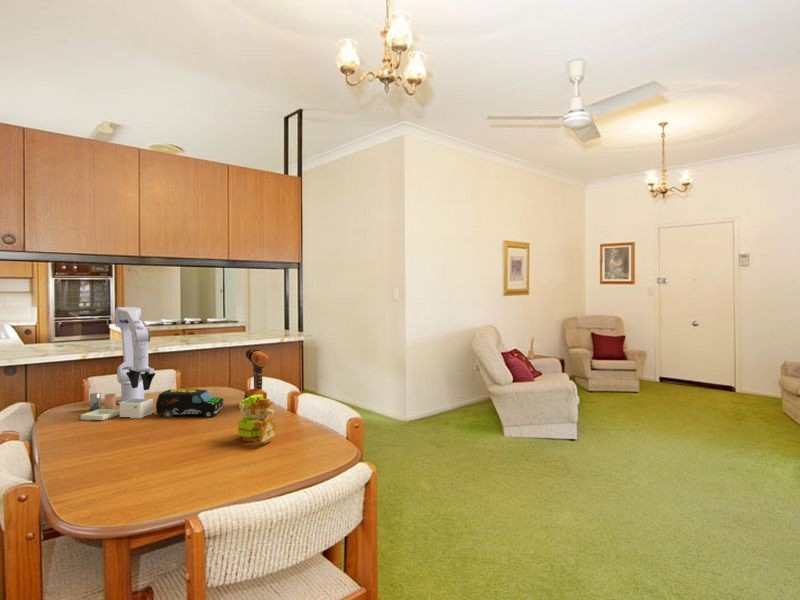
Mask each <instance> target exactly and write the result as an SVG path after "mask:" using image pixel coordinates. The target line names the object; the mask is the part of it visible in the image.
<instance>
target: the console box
mask: <svg viewBox="0 0 800 600" xmlns="http://www.w3.org/2000/svg"><path fill="white" fill-rule="evenodd" d="M119 410H120V415H119V418H120V417H130V418H129V419H139V418H140V419H142V417H143V418H145V417H147V415H148V416H151V415H152V413H153V414H154V398H144V399H137V398H133V399H130V400H127V401H124V402H121V403H120V404H119ZM144 416H145V417H144Z"/></svg>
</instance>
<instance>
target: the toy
mask: <svg viewBox="0 0 800 600" xmlns="http://www.w3.org/2000/svg"><path fill="white" fill-rule="evenodd" d="M272 405H273V401H271V400H270V399H269V398H266V399H264V398H263V395H262V394H258V395H252V396H250V397H248V398H246V399H244V398H243V399H242V400H240V402H239V403H238V409H239V413H241V415H242V416H243V418H242V419H241V420H239V421H238V434H237V435H238V436H240V437H242V441H243V440H245V441H244V442H251V441H254V442H253V443H256V442H257V440H258V442H259V443H261V444H267V443H268V442H270V441H272V440H273V437H274V436H276V421H273V419H274V418H273V417H271V416H270V415H273V414H275V410H274V409H271V406H272ZM255 441H256V442H255Z"/></svg>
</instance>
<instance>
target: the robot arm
mask: <svg viewBox="0 0 800 600" xmlns="http://www.w3.org/2000/svg"><path fill="white" fill-rule="evenodd" d="M141 318H142V310H141V308H140V306H130V307H129V306H121V307H120V306H117V307H116V308H115V311H114V322H115V325H116V327H117V328H120V331H121V342H122V343H121V344H122V354H123V355H122V356H123V357H122V358H123V362H122V363H121V364H120V365H118V366H117V369H116V370H117V372H116V373H117V374H116V380H117V382H118V383H119V384H121V385H120V394H121V395H120V399H121V400H120V401H117V402H116V404H117V403H118V404H119V405H120V403H121V402H124V401H127V400H130V399H133V398H137V399H145V391H148V390H150V388H151V384H152V381H153V379H154V378H155V376H156V372H155V368H152V367H150V366H149V342H150V341H151V330H150V328H146V326H145V325H144V323H143V321H141ZM118 404H117V405H118Z"/></svg>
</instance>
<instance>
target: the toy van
mask: <svg viewBox="0 0 800 600" xmlns="http://www.w3.org/2000/svg"><path fill="white" fill-rule="evenodd" d="M223 407H224V398H223V397H219V396H217V397H215V396H213V395H212V394H211V393H210V392H209V391H208V390H207V389H197V388H191V389H190V388H188V389H187V388H185V389H184V388H182V389H181V388H177V389H176V388H175V389H167V390H164V391H163V392H161V393H159V394H158V397H157V399H156V403H155V412H154V413H155V415H162V416H163V418H174V415H203V417H204V418H206V417H207V419H208V418H213V417H214V416H215V415H216V414H218V413H220V412H221V410H222V409H223Z"/></svg>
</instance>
